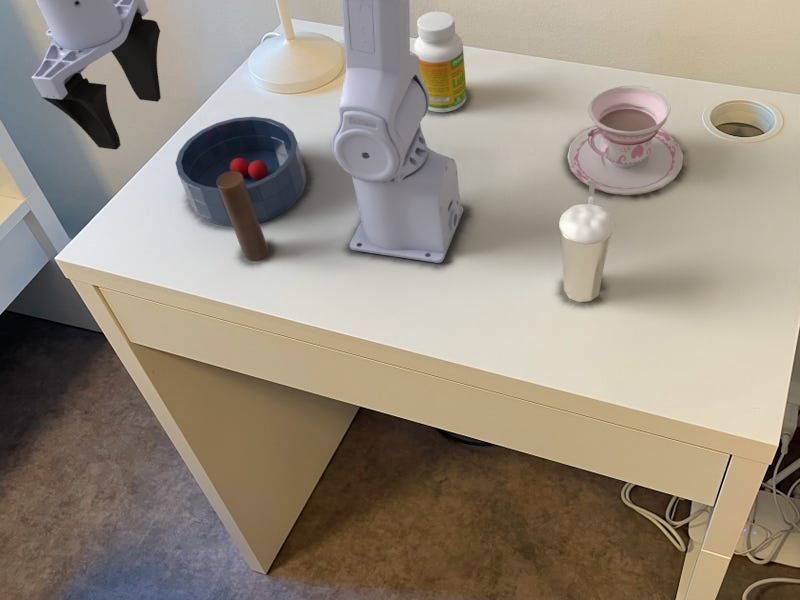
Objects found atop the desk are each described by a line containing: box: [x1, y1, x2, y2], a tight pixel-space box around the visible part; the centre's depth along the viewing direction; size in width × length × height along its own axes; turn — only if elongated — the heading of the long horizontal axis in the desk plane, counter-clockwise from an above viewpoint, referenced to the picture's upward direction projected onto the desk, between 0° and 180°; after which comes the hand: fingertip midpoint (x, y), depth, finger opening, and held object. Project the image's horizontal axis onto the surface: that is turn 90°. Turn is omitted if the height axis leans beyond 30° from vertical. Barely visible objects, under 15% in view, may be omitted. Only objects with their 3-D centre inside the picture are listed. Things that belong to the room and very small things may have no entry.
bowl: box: [175, 116, 307, 227], centre depth 85 cm, size 12×12×4 cm
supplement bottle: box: [413, 11, 467, 113], centre depth 91 cm, size 5×5×10 cm
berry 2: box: [248, 160, 268, 180], centre depth 86 cm, size 2×2×2 cm
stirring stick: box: [216, 171, 269, 262], centre depth 77 cm, size 2×2×9 cm
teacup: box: [567, 85, 684, 196], centre depth 84 cm, size 12×12×6 cm
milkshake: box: [558, 182, 615, 303], centre depth 71 cm, size 4×5×10 cm
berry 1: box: [230, 158, 249, 177], centre depth 86 cm, size 2×2×2 cm
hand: (130, 121), depth 78 cm, fingers open, 7 cm apart
